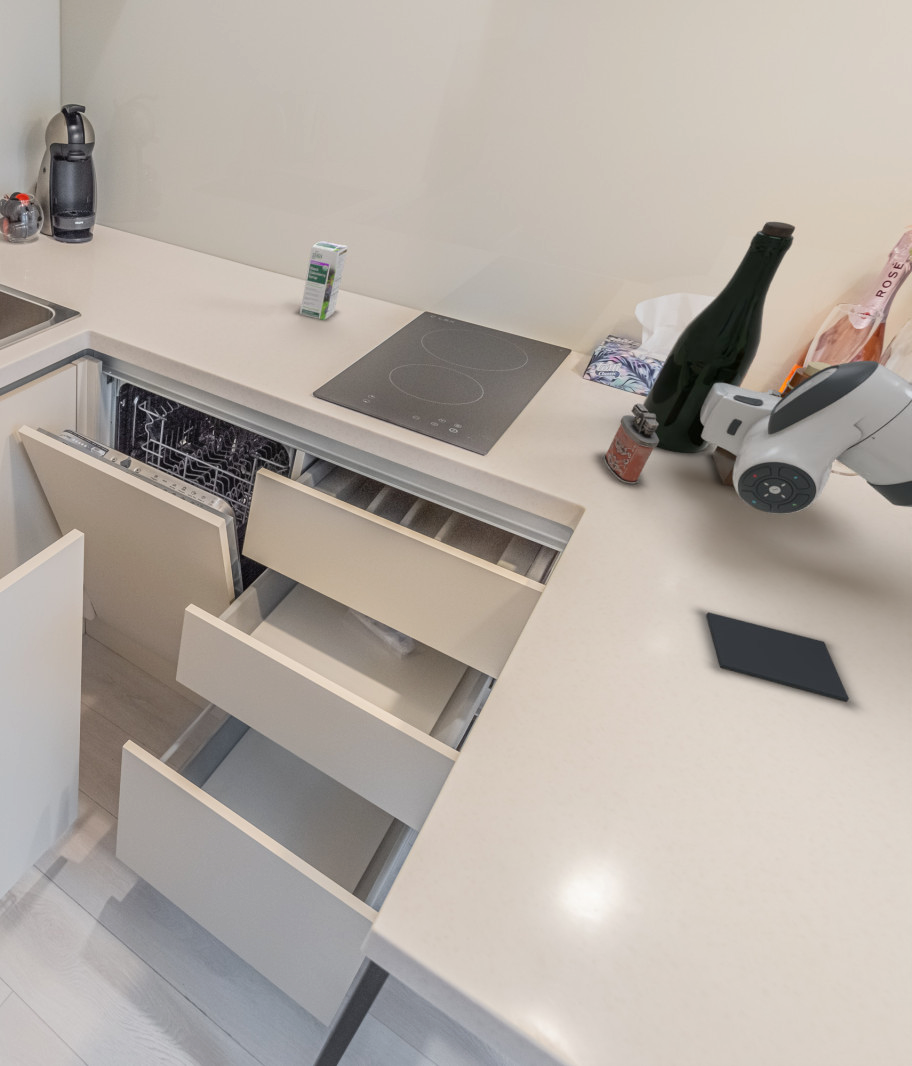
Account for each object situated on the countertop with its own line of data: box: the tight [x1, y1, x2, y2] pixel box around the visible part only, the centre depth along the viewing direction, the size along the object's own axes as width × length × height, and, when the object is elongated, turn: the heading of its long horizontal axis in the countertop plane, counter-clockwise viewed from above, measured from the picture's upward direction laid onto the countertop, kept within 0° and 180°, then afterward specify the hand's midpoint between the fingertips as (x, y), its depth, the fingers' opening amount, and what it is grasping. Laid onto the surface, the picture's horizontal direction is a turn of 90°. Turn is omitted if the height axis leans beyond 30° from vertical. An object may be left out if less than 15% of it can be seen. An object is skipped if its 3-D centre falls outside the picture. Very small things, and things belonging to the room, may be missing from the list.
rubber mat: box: [706, 611, 850, 703], centre depth 82 cm, size 11×9×1 cm
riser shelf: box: [712, 445, 737, 487], centre depth 110 cm, size 9×9×6 cm
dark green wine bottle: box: [641, 221, 796, 454], centre depth 111 cm, size 10×10×33 cm
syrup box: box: [299, 240, 349, 321], centre depth 157 cm, size 6×6×14 cm
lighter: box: [602, 403, 659, 486], centre depth 109 cm, size 8×3×10 cm, turn 171°
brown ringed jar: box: [780, 361, 833, 398], centre depth 104 cm, size 5×5×11 cm
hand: (799, 402), depth 105 cm, fingers closed on brown ringed jar, 5 cm apart
